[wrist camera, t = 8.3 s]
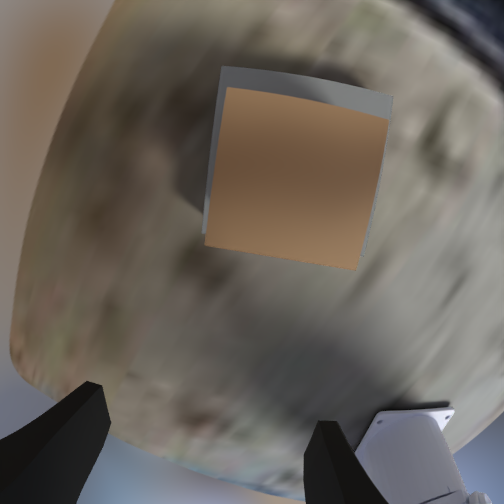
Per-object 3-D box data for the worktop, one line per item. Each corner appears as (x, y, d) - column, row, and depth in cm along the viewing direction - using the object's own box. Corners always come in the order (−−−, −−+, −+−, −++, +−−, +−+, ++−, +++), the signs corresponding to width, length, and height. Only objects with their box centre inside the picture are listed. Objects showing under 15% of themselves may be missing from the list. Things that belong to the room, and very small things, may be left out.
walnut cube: (330, 229, 15) (356, 270, 10) (224, 211, 15) (204, 245, 10) (350, 125, 13) (389, 120, 9) (241, 105, 13) (227, 87, 9)
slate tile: (350, 238, 18) (363, 256, 15) (212, 218, 18) (201, 233, 16) (374, 102, 16) (393, 96, 13) (229, 77, 16) (221, 65, 13)
